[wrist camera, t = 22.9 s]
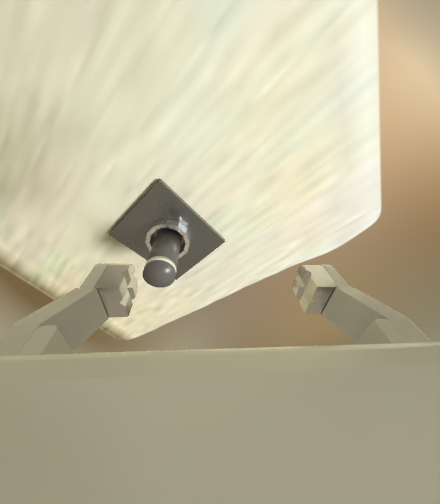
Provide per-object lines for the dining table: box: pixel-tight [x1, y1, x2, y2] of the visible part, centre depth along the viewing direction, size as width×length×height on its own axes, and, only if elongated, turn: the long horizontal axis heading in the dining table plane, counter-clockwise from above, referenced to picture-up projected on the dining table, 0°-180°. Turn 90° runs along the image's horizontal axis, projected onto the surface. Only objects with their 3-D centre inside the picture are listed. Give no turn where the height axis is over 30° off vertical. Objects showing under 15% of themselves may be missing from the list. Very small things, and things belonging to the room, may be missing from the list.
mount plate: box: [110, 179, 225, 280], centre depth 43 cm, size 18×16×3 cm
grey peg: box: [143, 228, 181, 287], centre depth 38 cm, size 5×5×12 cm
